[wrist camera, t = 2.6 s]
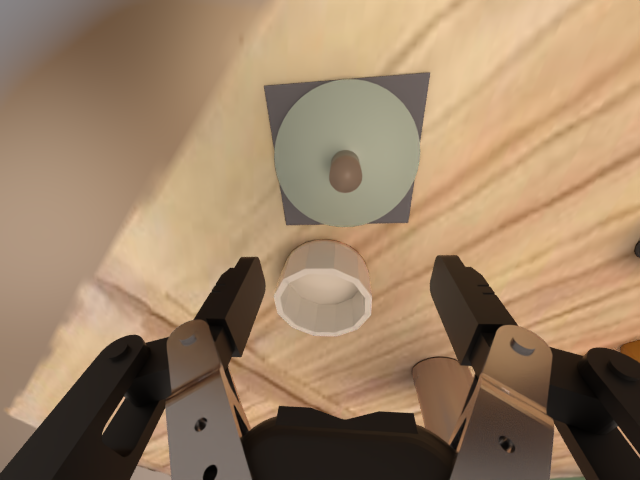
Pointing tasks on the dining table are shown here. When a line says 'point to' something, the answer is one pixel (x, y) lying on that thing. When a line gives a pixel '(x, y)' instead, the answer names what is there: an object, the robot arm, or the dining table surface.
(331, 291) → the bowl
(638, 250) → the sundae
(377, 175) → the lid
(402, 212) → the mat
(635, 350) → the bread
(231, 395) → the robot arm
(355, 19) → the dining table surface
